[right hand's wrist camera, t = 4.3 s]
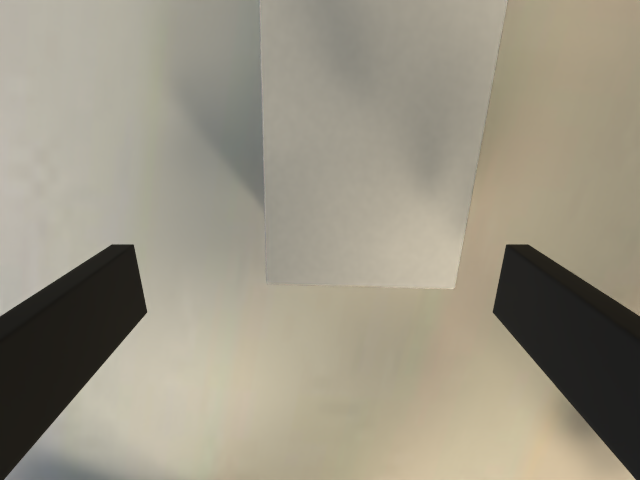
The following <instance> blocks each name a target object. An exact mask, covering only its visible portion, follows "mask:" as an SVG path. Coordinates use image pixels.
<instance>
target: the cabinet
mask: <svg viewBox="0 0 640 480" xmlns="http://www.w3.org/2000/svg"><path fill="white" fill-rule="evenodd" d="M507 3H508V0H259V8H260V49H261V89H262V129H263V169H264V210H265V250H266V284H273V285H311V286H349V287H388V288H426V289H455V285H456V279H457V274H458V269H459V263H460V258H461V252H462V247H463V241H464V236H465V231H466V225H467V220H468V214H469V209H470V203H471V198H472V193H473V187H474V182H475V176H476V171H477V166H478V160H479V155H480V149H481V144H482V138H483V133H484V128H485V122H486V117H487V111H488V106H489V100H490V95H491V90H492V84H493V79H494V73H495V68H496V63H497V57H498V52H499V46H500V41H501V35H502V30H503V25H504V19H505V14H506V8H507Z"/></svg>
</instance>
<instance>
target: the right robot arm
mask: <svg viewBox="0 0 640 480" xmlns="http://www.w3.org/2000/svg"><path fill="white" fill-rule="evenodd" d="M146 313H147V309H146V304H145V299H144V294H143V289H142V284H141V279H140V274H139V269H138V264H137V259H136V254H135V249H134V245H110V246H109V247H107V248H106V249H104V250H103V251H101V252H100V253H98V254H96V255H95V256H93V257H92V258H90V259H89V260H87V261H86V262H84V263H82V264H81V265H79V266H78V267H76V268H75V269H73V270H72V271H70V272H69V273H67V274H65V275H64V276H62V277H61V278H59V279H58V280H56V281H55V282H53V283H51V284H50V285H48V286H47V287H45V288H44V289H42V290H41V291H39V292H37V293H36V294H34V295H33V296H31V297H30V298H28V299H27V300H25V301H23V302H22V303H20V304H19V305H17V306H16V307H14V308H13V309H11V310H9V311H8V312H6V313H5V314H3V315H2V316H0V480H4V479H5V478H6V477H7V475H8V474H9V473H10V472H11V471H12V470H13V468H14V467H15V466H16V465H17V464H18V463H19V461H20V460H21V459H22V458H23V457H24V456H25V454H26V453H27V452H28V451H29V450H30V449H31V447H32V446H33V445H34V444H35V443H36V442H37V440H38V439H39V438H40V437H41V436H42V435H43V433H44V432H45V431H46V430H47V429H48V428H49V426H50V425H51V424H52V423H53V422H54V421H55V419H56V418H57V417H58V416H59V415H60V414H61V412H62V411H63V410H64V409H65V408H66V407H67V405H68V404H69V403H70V402H71V401H72V399H73V398H74V397H75V396H76V395H77V394H78V392H79V391H80V390H81V389H82V388H83V387H84V385H85V384H86V383H87V382H88V381H89V380H90V378H91V377H92V376H93V375H94V374H95V373H96V371H97V370H98V369H99V368H100V367H101V366H102V364H103V363H104V362H105V361H106V360H107V359H108V357H109V356H110V355H111V354H112V353H113V352H114V350H115V349H116V348H117V347H118V346H119V345H120V343H121V342H122V341H123V340H124V339H125V338H126V336H127V335H128V334H129V333H130V332H131V331H132V329H133V328H134V327H135V326H136V325H137V324H138V322H139V321H140V320H141V319H142V318H143V317H144V315H145V314H146ZM493 313H494V314H495V315H496V317H497V318H498V319H499V320H500V321H501V322H502V324H503V325H504V326H505V327H506V328H507V329H508V331H509V332H510V333H511V334H512V335H513V336H514V338H515V339H516V340H517V341H518V342H519V343H520V345H521V346H522V347H523V348H524V349H525V350H526V352H527V353H528V354H529V355H530V356H531V357H532V359H533V360H534V361H535V362H536V363H537V364H538V366H539V367H540V368H541V369H542V370H543V371H544V373H545V374H546V375H547V376H548V377H549V378H550V380H551V381H552V382H553V383H554V384H555V385H556V387H557V388H558V389H559V390H560V391H561V392H562V394H563V395H564V396H565V397H566V398H567V399H568V401H569V402H570V403H571V404H572V405H573V407H574V408H575V409H576V410H577V411H578V412H579V414H580V415H581V416H582V417H583V418H584V419H585V421H586V422H587V423H588V424H589V425H590V426H591V428H592V429H593V430H594V431H595V432H596V433H597V435H598V436H599V437H600V438H601V439H602V440H603V442H604V443H605V444H606V445H607V446H608V447H609V449H610V450H611V451H612V452H613V453H614V454H615V456H616V457H617V458H618V459H619V460H620V461H621V463H622V464H623V465H624V466H625V467H626V468H627V470H628V471H629V472H630V473H631V474H632V475H633V477H634V478H635V479H636V480H640V316H638V315H637V314H635V313H634V312H632V311H631V310H629V309H627V308H626V307H624V306H623V305H621V304H620V303H618V302H617V301H615V300H613V299H612V298H610V297H609V296H607V295H606V294H604V293H603V292H601V291H599V290H598V289H596V288H595V287H593V286H592V285H590V284H589V283H587V282H585V281H584V280H582V279H581V278H579V277H578V276H576V275H575V274H573V273H571V272H570V271H568V270H567V269H565V268H564V267H562V266H561V265H559V264H558V263H556V262H554V261H553V260H551V259H550V258H548V257H547V256H545V255H544V254H542V253H540V252H539V251H537V250H536V249H534V248H533V247H531V246H530V245H506V249H505V254H504V259H503V264H502V269H501V274H500V279H499V284H498V289H497V294H496V299H495V304H494V309H493Z"/></svg>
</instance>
